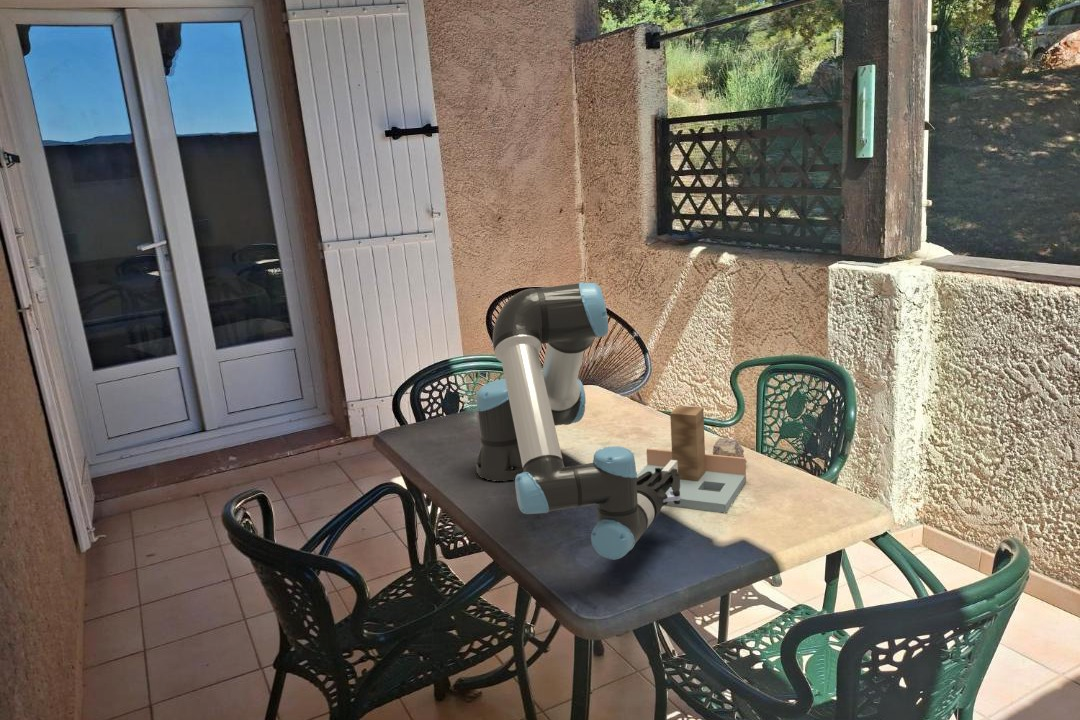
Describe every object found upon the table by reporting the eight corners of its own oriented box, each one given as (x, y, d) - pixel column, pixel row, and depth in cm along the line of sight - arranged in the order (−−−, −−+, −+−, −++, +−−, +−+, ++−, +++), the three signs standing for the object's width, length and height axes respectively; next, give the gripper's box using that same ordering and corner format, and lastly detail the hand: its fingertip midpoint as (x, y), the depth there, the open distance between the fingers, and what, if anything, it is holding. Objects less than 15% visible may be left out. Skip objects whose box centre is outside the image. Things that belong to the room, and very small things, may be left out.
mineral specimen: (754, 474, 195) (754, 449, 193) (725, 477, 194) (724, 453, 193) (735, 455, 207) (735, 432, 206) (708, 459, 206) (707, 435, 205)
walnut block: (673, 478, 191) (670, 413, 187) (681, 469, 196) (678, 405, 192) (698, 481, 188) (695, 415, 184) (705, 471, 193) (703, 407, 189)
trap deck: (622, 499, 186) (620, 475, 185) (648, 471, 202) (647, 448, 200) (726, 513, 175) (725, 487, 174) (746, 481, 190) (745, 457, 189)
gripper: (607, 522, 164) (647, 478, 184) (670, 531, 158) (703, 484, 178) (605, 487, 162) (645, 447, 182) (668, 495, 156) (702, 452, 176)
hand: (674, 465), depth 180 cm, fingers closed
